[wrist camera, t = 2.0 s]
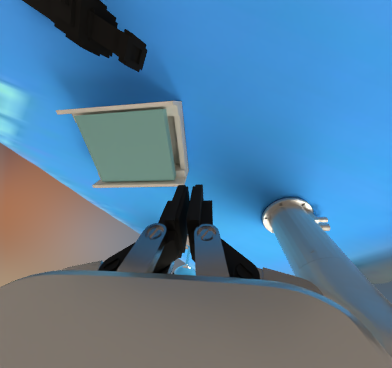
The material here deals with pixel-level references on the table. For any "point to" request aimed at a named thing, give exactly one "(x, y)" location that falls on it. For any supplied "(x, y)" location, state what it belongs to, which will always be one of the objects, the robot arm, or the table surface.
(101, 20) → the toy gun
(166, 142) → the lid
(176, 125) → the box
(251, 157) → the table surface
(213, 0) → the table surface
